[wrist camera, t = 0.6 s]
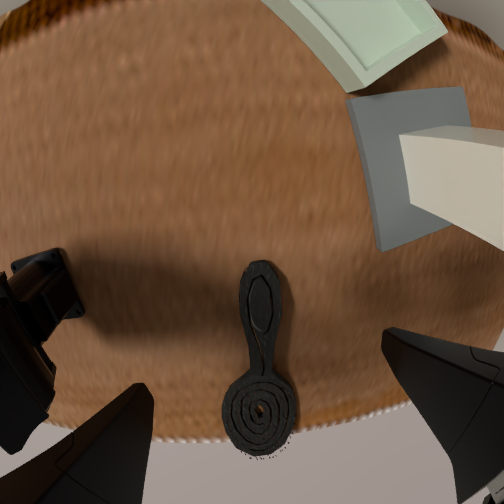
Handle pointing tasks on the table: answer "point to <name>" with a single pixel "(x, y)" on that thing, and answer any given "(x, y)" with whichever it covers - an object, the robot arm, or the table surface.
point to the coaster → (400, 155)
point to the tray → (360, 34)
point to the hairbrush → (259, 371)
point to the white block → (458, 177)
